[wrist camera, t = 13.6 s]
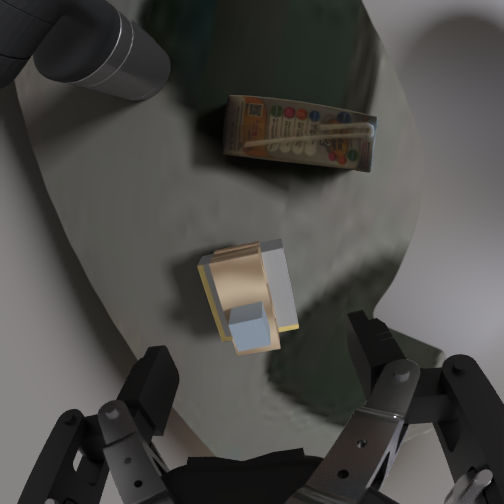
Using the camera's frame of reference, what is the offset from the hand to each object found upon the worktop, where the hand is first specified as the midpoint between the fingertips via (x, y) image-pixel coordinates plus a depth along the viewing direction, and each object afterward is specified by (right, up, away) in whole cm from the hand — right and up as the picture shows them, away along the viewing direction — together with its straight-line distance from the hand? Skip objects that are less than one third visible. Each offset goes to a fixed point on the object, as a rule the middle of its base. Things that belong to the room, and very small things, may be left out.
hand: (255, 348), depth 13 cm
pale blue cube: (0, -4, +26) cm, 26 cm away
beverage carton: (+6, +20, +27) cm, 35 cm away
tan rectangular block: (-1, -2, +30) cm, 30 cm away
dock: (0, -1, +35) cm, 35 cm away
